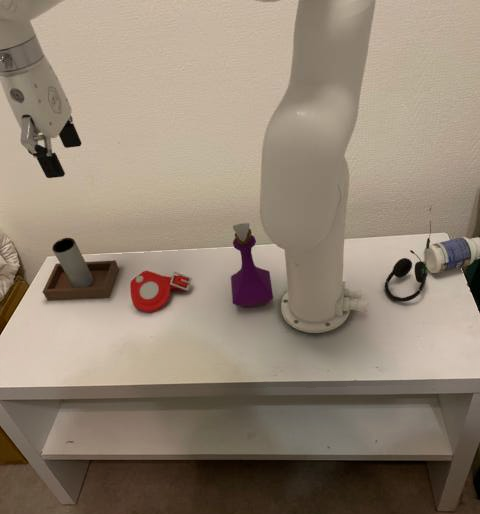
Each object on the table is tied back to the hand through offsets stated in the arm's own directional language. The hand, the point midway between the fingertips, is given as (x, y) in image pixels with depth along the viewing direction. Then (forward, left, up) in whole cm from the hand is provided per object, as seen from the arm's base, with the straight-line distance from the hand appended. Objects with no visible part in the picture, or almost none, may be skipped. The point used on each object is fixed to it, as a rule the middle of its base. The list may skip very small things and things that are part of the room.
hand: (65, 160), depth 83 cm
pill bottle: (-62, -7, -24) cm, 67 cm away
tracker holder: (-12, +5, -27) cm, 30 cm away
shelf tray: (+6, +4, -27) cm, 28 cm away
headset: (-64, -14, -16) cm, 67 cm away
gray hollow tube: (+6, +4, -27) cm, 27 cm away
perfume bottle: (-31, +4, -27) cm, 41 cm away
